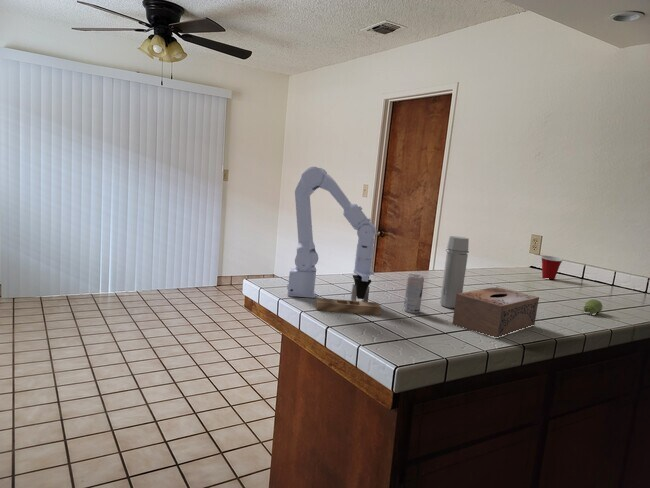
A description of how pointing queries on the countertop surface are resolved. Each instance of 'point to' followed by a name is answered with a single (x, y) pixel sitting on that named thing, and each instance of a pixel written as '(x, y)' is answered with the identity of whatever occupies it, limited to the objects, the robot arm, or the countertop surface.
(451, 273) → the water bottle
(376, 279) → the countertop surface
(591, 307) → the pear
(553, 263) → the plastic cup
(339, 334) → the countertop surface
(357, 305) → the rail
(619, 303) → the countertop surface
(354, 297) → the brushed metal block
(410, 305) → the energy drink
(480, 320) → the tissue box cover
